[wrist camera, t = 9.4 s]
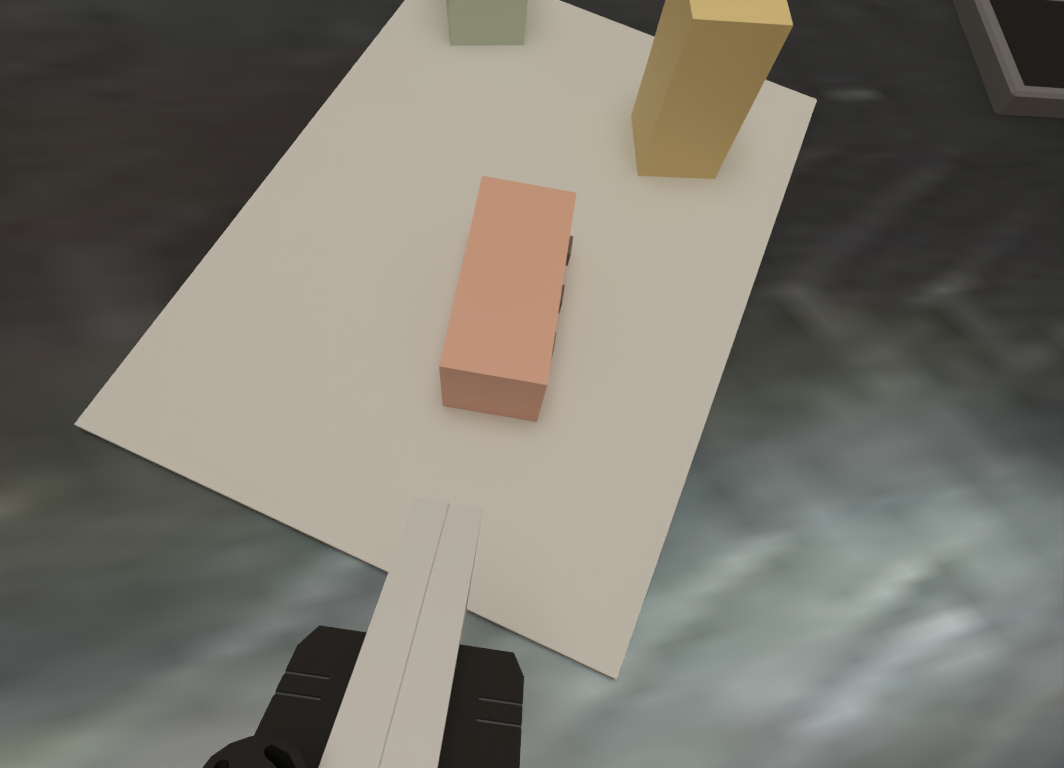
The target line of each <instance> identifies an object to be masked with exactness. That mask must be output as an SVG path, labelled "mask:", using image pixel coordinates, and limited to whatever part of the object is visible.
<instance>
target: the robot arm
mask: <svg viewBox="0 0 1064 768" xmlns="http://www.w3.org/2000/svg"><path fill="white" fill-rule="evenodd" d="M482 511H483V508H478V507H471V506H465V505H459V504H452V503H446V502H439V501H433V500H427V499H420V498H415V500H414V503H413V506H412V508H411V511H410V514H409V517H408V519H407V522H406V525H405V528H404V531H403V533H402V536H401V539H400V542H399V545H398V547H397V550H396V553H395V556H394V558H393V561H392V564H391V567H390V570H389V572H388V575H387V578H386V581H385V584H384V586H383V589H382V592H381V595H380V597H379V600H378V603H377V606H376V609H375V611H374V614H373V617H372V620H371V623H370V625H369V628H368V631H367V632H360V631H353V630H346V629H340V628H333V627H326V626H320V625H319V626H318V627H317V628H316V629H315V630H314V631H313V632H312V633H311V634H309V635H308V636H307V637H306V638H305V639H304V640H303V641H302V642H300V643H299V644H298V645H297V647H296V649H295V652H294V654H293V656H292V658H291V660H290V662H289V664H288V666H287V668H286V671H285V675H283V676H282V679H281V681H280V683H279V685H278V687H277V689H276V692H275V695H274V696H273V697H272V699H271V701H270V703H269V706H268V708H267V710H266V712H265V714H264V716H263V718H262V720H261V722H260V724H259V726H258V728H257V730H256V733H255V735H254V736H251V737H248V738H245V739H242V740H239V741H236V742H233V743H230V744H229V745H227V746H226V747H224V748H223V749H221V750H220V751H219V752H217V753H216V754H214V755H213V756H211V758H210V759H209V760H208V761H207V763H206V764H205V765H204V767H203V768H519V766H520V746H521V724H522V703H523V685H524V676H523V673H522V671H521V669H520V666H519V664H518V662H517V659H516V657H515V655H514V653H512V652H506V651H499V650H492V649H486V648H479V647H472V646H466V645H461V639H462V633H463V627H464V622H465V616H466V610H467V604H468V598H469V592H470V586H471V579H472V573H473V567H474V561H475V555H476V548H477V542H478V536H479V530H480V524H481V517H482Z"/></svg>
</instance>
